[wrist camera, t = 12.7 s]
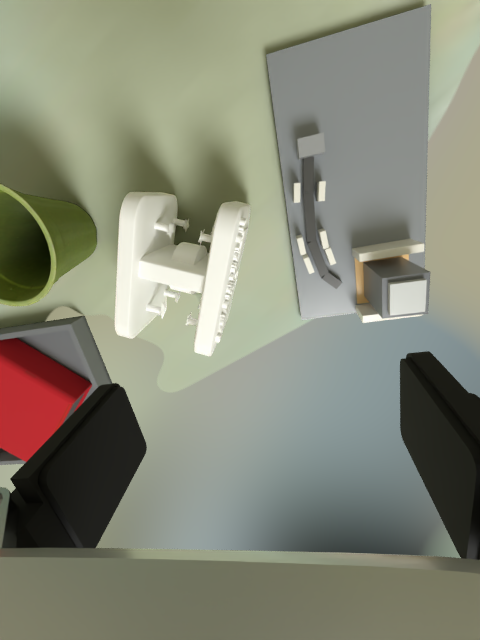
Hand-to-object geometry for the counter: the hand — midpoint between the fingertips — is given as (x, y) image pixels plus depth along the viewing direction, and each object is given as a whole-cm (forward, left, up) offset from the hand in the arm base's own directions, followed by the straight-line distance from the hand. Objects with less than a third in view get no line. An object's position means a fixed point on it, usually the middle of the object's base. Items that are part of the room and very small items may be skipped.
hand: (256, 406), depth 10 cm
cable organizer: (-1, -9, -29) cm, 30 cm away
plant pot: (-7, -25, -28) cm, 39 cm away
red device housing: (+16, -42, -28) cm, 53 cm away
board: (-5, +9, -28) cm, 30 cm away
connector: (+4, +12, -27) cm, 30 cm away
